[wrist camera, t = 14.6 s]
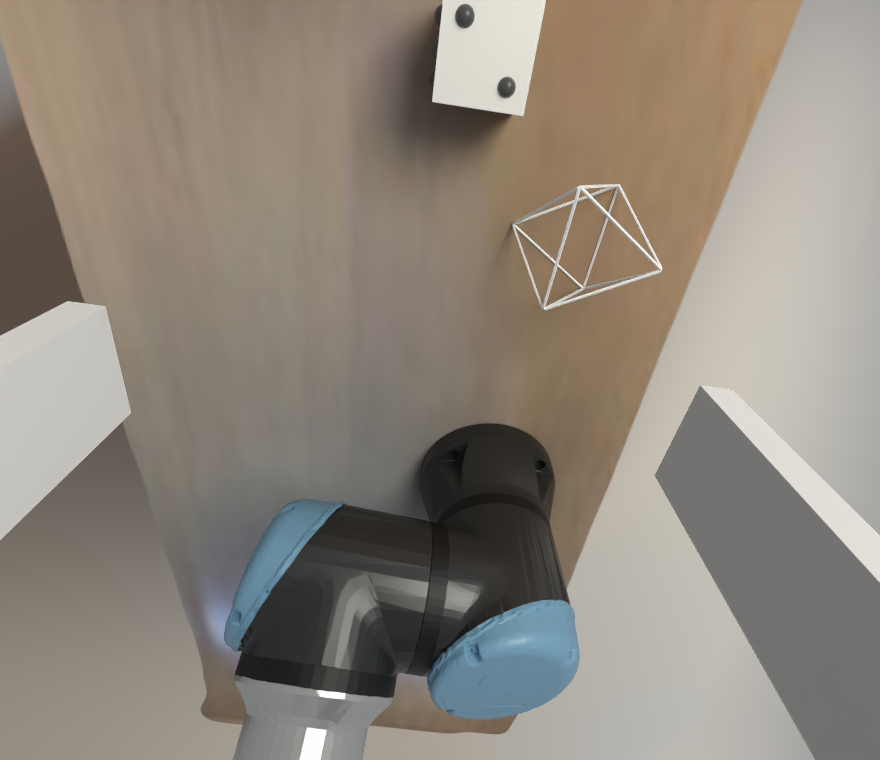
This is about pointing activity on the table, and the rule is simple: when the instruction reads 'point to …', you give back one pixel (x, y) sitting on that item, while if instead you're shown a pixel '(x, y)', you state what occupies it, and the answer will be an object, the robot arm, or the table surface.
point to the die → (486, 53)
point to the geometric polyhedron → (629, 279)
